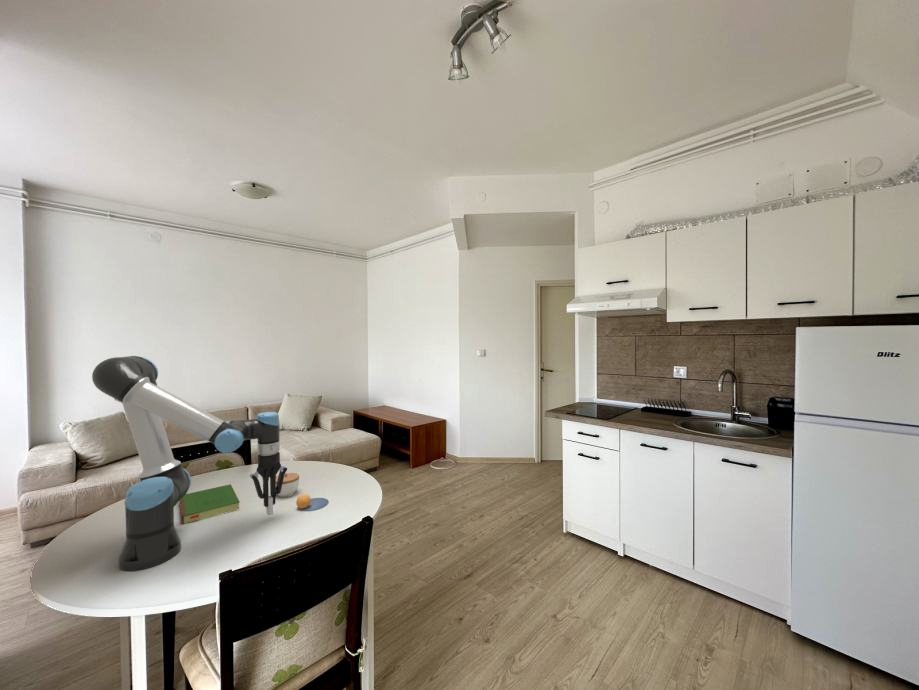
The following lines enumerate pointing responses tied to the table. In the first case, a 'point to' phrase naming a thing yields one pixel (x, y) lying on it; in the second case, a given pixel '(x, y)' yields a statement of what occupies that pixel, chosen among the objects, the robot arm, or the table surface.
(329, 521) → the table surface
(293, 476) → the lidded jar
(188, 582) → the table surface
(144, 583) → the table surface
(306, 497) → the ball
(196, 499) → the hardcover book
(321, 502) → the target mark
